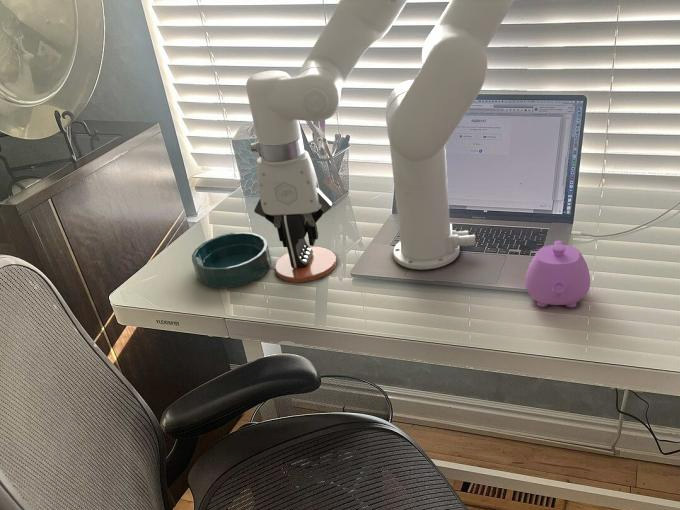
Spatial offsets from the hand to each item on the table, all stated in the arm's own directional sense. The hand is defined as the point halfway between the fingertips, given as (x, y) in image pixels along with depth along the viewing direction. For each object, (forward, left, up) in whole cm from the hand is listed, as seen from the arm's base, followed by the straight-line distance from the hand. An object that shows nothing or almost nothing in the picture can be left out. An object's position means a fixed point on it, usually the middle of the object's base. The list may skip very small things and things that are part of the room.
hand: (299, 242), depth 128 cm
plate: (0, 0, -5) cm, 5 cm away
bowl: (+14, 0, -5) cm, 15 cm away
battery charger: (0, -1, -4) cm, 4 cm away
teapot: (-45, +16, -5) cm, 48 cm away
